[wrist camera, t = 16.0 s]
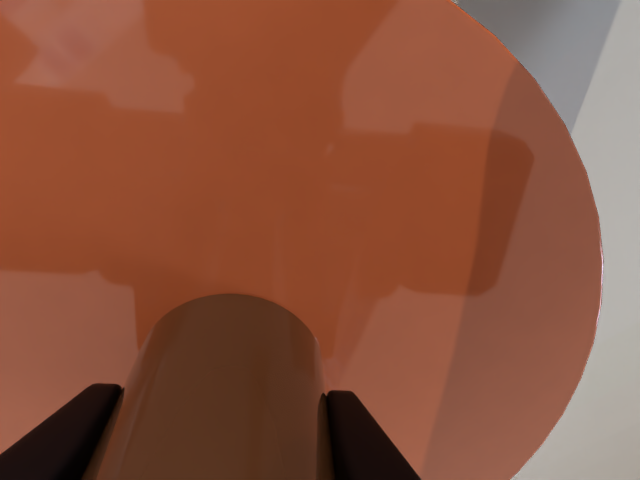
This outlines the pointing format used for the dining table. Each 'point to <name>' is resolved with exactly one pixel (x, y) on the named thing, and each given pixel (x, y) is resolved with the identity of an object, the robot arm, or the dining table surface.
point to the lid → (287, 235)
